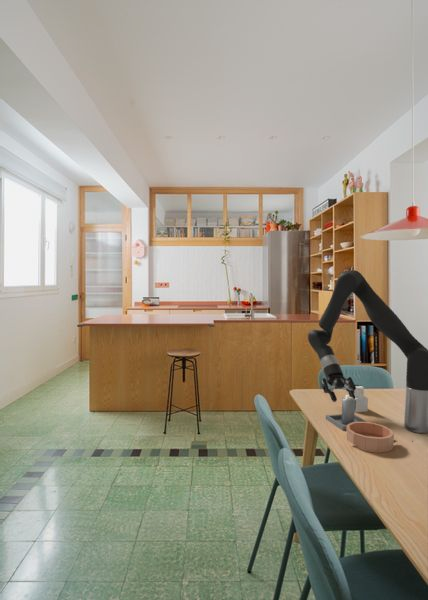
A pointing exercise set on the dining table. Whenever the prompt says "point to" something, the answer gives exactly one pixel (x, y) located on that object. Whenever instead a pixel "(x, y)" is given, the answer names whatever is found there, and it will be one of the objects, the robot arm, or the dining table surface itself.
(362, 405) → the medicine bottle
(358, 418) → the parts tray
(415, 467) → the dining table surface
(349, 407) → the pebble cup
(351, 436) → the bowl
